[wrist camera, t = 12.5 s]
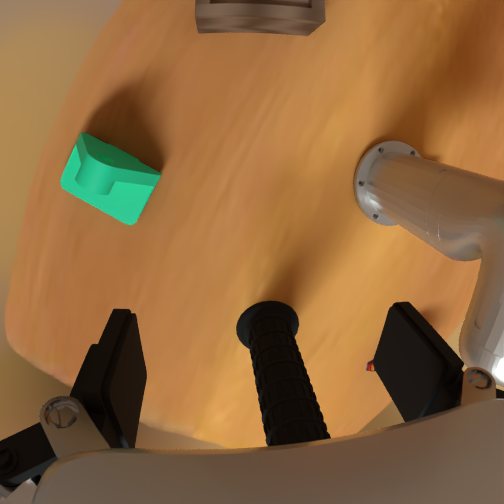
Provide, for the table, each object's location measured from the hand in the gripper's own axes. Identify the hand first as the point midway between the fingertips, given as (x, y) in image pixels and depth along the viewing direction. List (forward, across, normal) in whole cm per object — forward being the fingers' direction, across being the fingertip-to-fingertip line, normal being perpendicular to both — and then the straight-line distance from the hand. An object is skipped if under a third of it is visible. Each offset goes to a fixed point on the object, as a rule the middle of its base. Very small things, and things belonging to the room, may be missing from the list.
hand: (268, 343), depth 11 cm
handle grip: (+33, -7, +23) cm, 41 cm away
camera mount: (+33, +16, -1) cm, 36 cm away
